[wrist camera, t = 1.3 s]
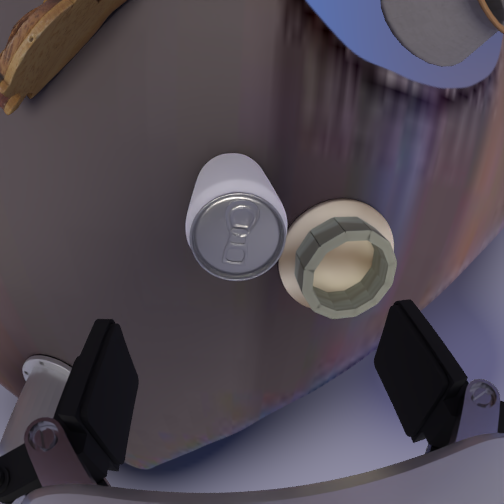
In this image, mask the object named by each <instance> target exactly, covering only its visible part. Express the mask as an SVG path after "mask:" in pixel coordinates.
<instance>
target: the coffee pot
mask: <svg viewBox="0 0 504 504" xmlns="http://www.w3.org/2000/svg"><path fill="white" fill-rule="evenodd" d="M381 9H382V12H383V15H384V18H385V21H386V23H387V25H388V26H389V28H390V30H391V32H392V33H393V35H394V36H395V37H396V38H397V40H398V41H399V42H400V43H401V45H402V46H404V47H405V48H406V49H407V50H408V51H410V52H411V53H412V54H413V55H415V56H416V57H419V58H420V59H422V60H424V61H425V62H428V63H430V64H434V65H437V66H441V67H442V66H453V65H455V64H458V63H460V62H462V61H463V60H464V59H465V58H466V57H468V56H469V55H470V54H471V53H473V52H474V51H475V50H476V49H477V48H478V47H479V46H481V45H482V44H483V43H484V42H485V41H487V40H488V39H489V38H490V37H491V36H493V35H494V34H495V33H496V32H497V31H500V32H502V33H503V34H504V0H381Z"/></svg>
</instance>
